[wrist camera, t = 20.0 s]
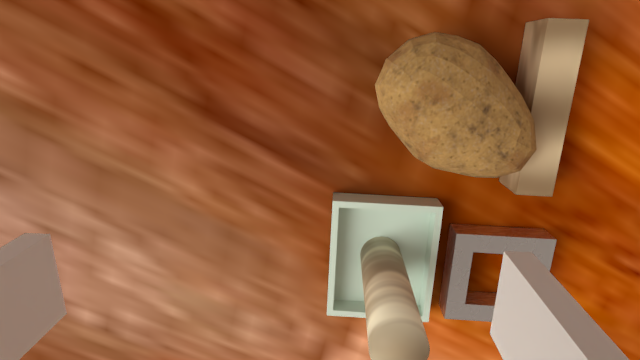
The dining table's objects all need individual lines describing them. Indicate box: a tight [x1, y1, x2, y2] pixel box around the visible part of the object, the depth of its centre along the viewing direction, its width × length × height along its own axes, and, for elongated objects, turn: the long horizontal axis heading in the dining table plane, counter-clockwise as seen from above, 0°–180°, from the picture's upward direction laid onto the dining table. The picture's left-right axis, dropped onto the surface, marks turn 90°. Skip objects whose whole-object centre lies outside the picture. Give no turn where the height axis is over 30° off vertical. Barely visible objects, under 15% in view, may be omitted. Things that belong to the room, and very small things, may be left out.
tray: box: [327, 193, 443, 322], centre depth 40 cm, size 12×10×2 cm
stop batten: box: [499, 18, 589, 197], centre depth 35 cm, size 14×3×4 cm, turn 178°
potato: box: [375, 32, 537, 178], centre depth 33 cm, size 10×14×8 cm
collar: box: [439, 223, 557, 322], centre depth 40 cm, size 9×9×2 cm
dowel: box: [360, 237, 430, 360], centre depth 34 cm, size 4×4×14 cm
